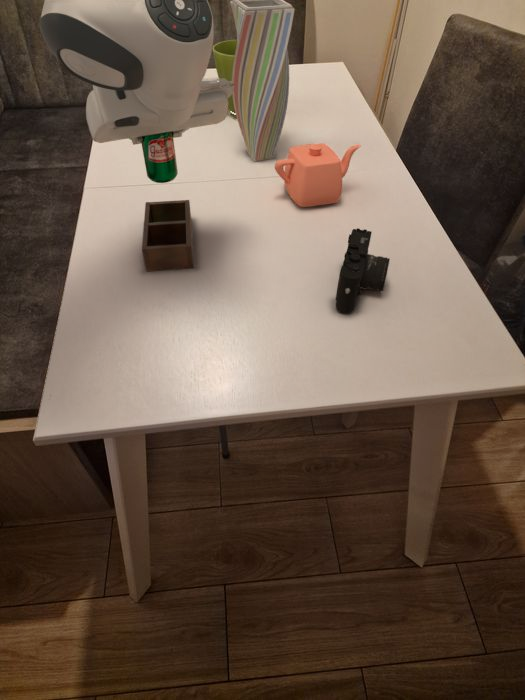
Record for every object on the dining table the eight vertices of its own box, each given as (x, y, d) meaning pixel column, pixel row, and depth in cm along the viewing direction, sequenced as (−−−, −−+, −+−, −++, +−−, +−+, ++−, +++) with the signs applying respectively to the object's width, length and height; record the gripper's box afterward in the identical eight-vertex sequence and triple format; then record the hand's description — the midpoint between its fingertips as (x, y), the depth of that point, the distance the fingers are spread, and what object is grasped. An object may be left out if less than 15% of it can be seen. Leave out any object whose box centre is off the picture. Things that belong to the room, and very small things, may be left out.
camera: (376, 323, 74) (386, 281, 68) (330, 314, 76) (336, 273, 70) (385, 269, 84) (395, 228, 78) (344, 262, 85) (351, 222, 79)
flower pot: (205, 117, 130) (200, 49, 119) (236, 100, 139) (234, 35, 128) (252, 129, 125) (251, 59, 114) (281, 111, 134) (283, 44, 122)
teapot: (265, 187, 104) (266, 138, 96) (343, 177, 107) (350, 129, 100) (282, 214, 96) (284, 163, 88) (365, 202, 100) (374, 152, 92)
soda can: (153, 187, 79) (140, 109, 70) (143, 174, 82) (129, 98, 73) (182, 180, 80) (173, 103, 72) (172, 167, 83) (161, 93, 75)
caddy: (146, 271, 83) (141, 249, 80) (149, 223, 93) (145, 202, 90) (193, 268, 84) (191, 246, 80) (191, 220, 94) (189, 199, 91)
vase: (298, 163, 112) (308, 7, 90) (242, 172, 108) (239, 12, 87) (276, 140, 120) (281, -8, 99) (224, 147, 117) (217, -4, 96)
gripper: (230, 56, 66) (211, 107, 80) (78, 75, 60) (85, 126, 74) (244, 101, 67) (222, 144, 80) (93, 124, 61) (97, 167, 74)
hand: (155, 136), depth 77 cm, fingers closed on soda can, 5 cm apart
